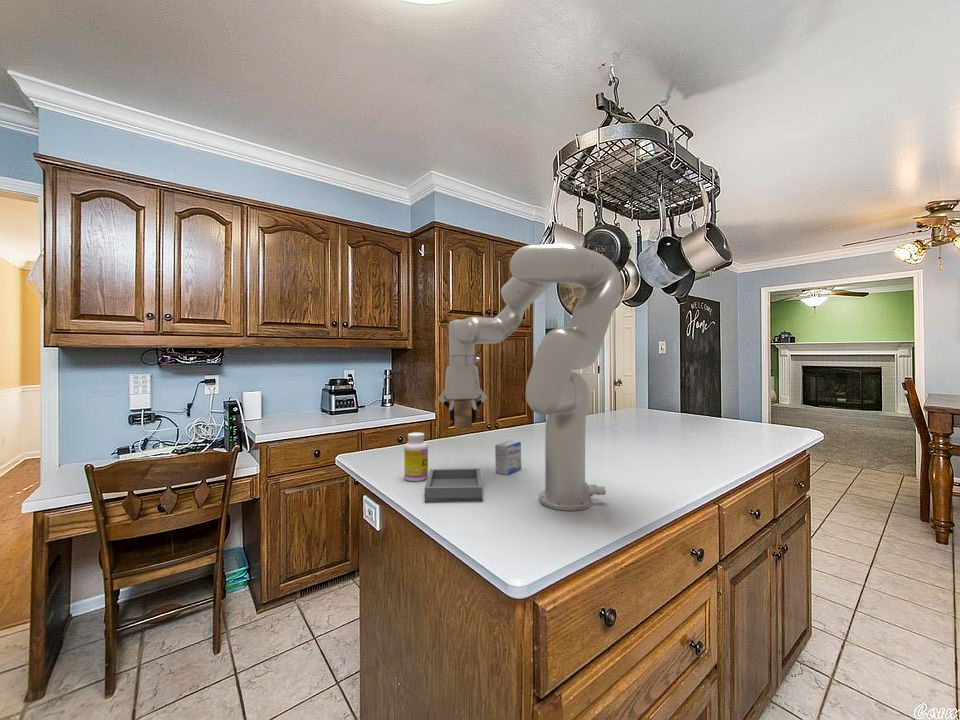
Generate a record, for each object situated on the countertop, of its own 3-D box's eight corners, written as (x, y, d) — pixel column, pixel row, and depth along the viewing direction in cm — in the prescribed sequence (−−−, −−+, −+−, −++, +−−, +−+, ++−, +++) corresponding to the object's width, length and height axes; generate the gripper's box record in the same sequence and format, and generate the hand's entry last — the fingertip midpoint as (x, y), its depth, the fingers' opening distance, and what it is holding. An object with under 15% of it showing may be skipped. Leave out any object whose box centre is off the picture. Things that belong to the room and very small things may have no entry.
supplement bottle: (424, 482, 115) (423, 436, 115) (401, 481, 116) (400, 436, 116) (430, 475, 121) (430, 432, 121) (409, 474, 123) (408, 431, 122)
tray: (480, 480, 116) (480, 468, 116) (482, 501, 100) (482, 487, 100) (430, 481, 116) (430, 469, 116) (424, 502, 100) (424, 488, 100)
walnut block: (471, 425, 125) (471, 398, 125) (471, 427, 120) (471, 400, 120) (455, 425, 125) (454, 399, 125) (454, 428, 120) (454, 400, 120)
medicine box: (507, 475, 121) (507, 446, 121) (495, 472, 124) (494, 444, 124) (521, 469, 127) (521, 441, 127) (509, 466, 130) (509, 439, 130)
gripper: (489, 360, 126) (491, 420, 126) (434, 362, 126) (435, 421, 126) (491, 361, 119) (492, 424, 119) (432, 362, 118) (433, 425, 118)
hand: (463, 422), depth 122 cm, fingers closed on walnut block, 5 cm apart
